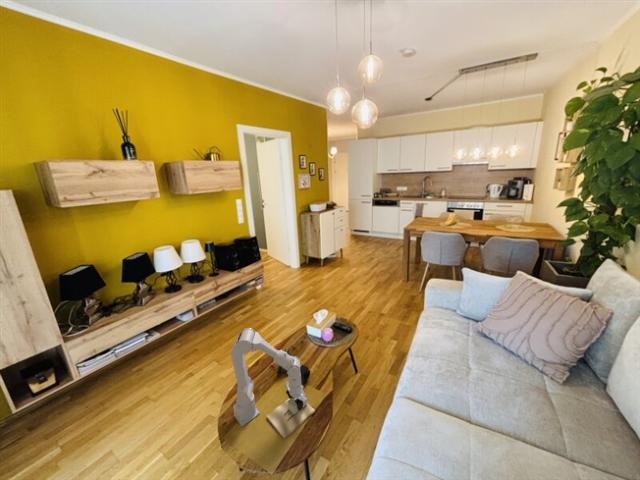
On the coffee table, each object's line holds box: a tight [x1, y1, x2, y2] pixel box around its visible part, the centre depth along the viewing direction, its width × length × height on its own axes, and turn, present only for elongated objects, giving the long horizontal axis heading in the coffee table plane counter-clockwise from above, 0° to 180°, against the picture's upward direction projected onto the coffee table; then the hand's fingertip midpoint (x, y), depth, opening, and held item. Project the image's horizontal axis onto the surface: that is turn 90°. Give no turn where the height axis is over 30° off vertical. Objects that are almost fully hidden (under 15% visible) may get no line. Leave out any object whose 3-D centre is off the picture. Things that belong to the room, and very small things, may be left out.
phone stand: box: [277, 347, 292, 374], centre depth 149 cm, size 9×6×12 cm, turn 74°
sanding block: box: [287, 397, 308, 415], centre depth 124 cm, size 8×4×5 cm, turn 133°
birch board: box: [265, 397, 316, 439], centre depth 122 cm, size 18×14×1 cm
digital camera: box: [300, 364, 311, 387], centre depth 139 cm, size 10×5×7 cm, turn 151°
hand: (296, 405), depth 124 cm, fingers closed on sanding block, 4 cm apart
